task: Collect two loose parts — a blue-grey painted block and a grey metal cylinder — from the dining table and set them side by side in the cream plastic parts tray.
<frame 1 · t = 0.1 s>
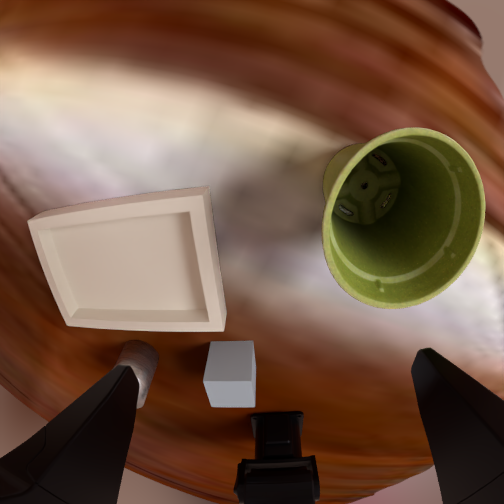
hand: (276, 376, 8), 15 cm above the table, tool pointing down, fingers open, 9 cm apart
painted block: (234, 355, 27), on the table
plant pot: (360, 184, 20), on the table
parts tray: (126, 261, 23), on the table
metal cylinder: (141, 353, 28), on the table
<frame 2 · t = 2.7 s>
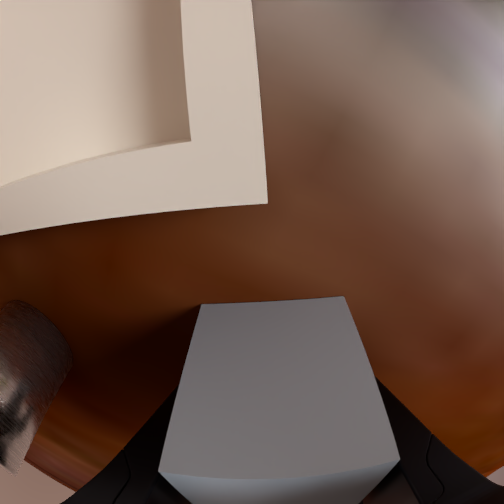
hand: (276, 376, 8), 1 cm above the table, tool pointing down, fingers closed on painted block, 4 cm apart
painted block: (275, 352, 9), on the table, touching gripper
metal cylinder: (36, 338, 9), on the table
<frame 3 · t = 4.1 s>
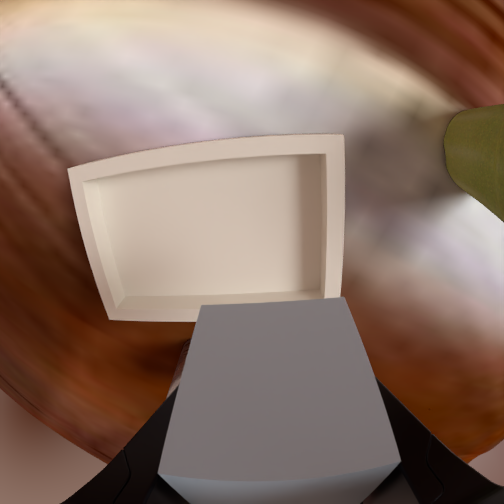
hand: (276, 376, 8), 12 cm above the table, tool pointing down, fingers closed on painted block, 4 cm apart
painted block: (275, 352, 9), point 11 cm above the table, touching gripper
plant pot: (470, 151, 15), on the table
parts tray: (208, 227, 18), on the table
metal cylinder: (205, 354, 23), on the table
when the fingers open (3 cm above the table, at t = 5.9 s): painted block drops 2 cm, resting on parts tray.
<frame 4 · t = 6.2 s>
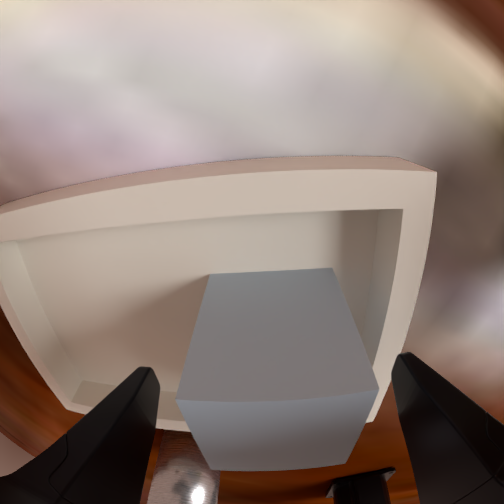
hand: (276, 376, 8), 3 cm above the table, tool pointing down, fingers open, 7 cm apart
painted block: (273, 319, 10), point 1 cm above the table, touching parts tray
parts tray: (183, 309, 11), on the table
metal cylinder: (193, 436, 16), on the table
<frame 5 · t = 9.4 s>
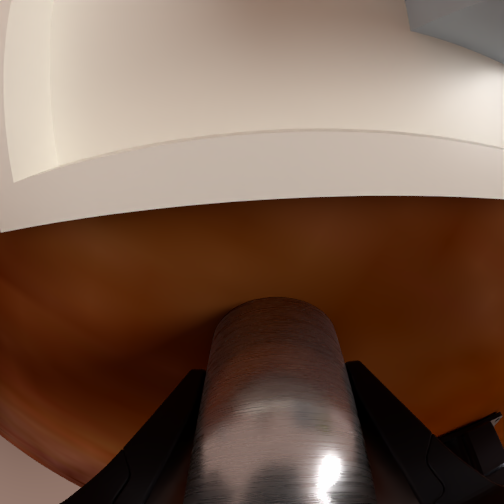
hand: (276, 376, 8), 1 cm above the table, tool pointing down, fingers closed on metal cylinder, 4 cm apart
metal cylinder: (274, 347, 9), on the table, touching gripper
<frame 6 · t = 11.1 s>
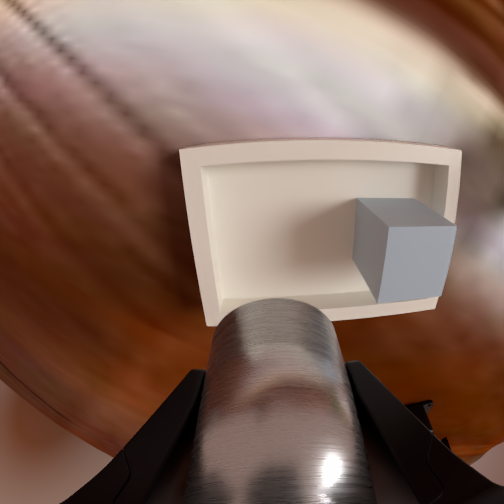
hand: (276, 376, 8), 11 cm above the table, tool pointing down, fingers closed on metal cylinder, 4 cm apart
painted block: (383, 228, 17), point 1 cm above the table, touching parts tray
parts tray: (328, 226, 18), on the table
metal cylinder: (274, 348, 9), point 10 cm above the table, touching gripper
when the fingers open (3 cm above the table, at t = 12.8 s): metal cylinder drops 1 cm, resting on parts tray.
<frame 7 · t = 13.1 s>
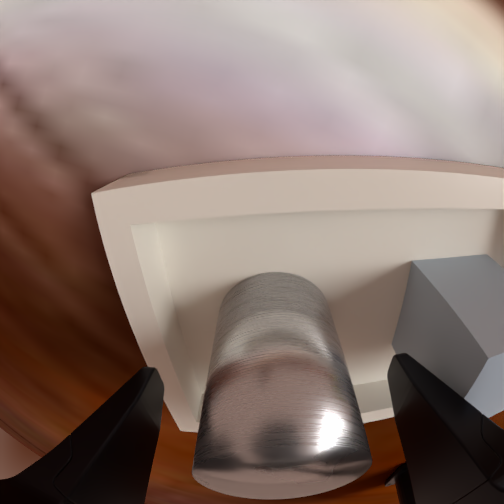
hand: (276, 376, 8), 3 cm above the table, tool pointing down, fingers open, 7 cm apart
painted block: (441, 300, 10), point 1 cm above the table, touching gripper, parts tray
parts tray: (360, 299, 11), on the table
metal cylinder: (274, 320, 10), point 1 cm above the table, touching parts tray
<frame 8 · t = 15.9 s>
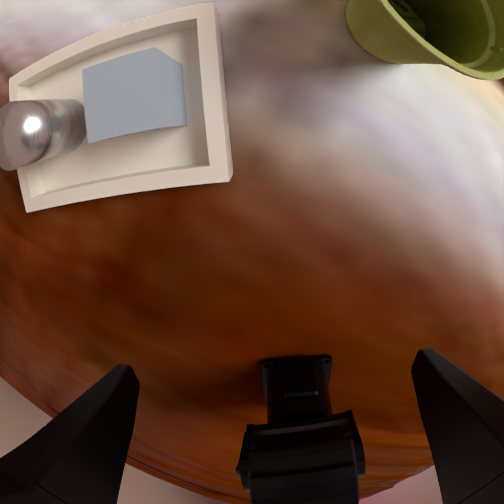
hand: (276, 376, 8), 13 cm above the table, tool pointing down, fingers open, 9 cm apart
painted block: (154, 100, 15), point 1 cm above the table, touching parts tray
plant pot: (384, 26, 13), on the table
parts tray: (110, 112, 16), on the table
metal cylinder: (66, 125, 16), point 1 cm above the table, touching parts tray
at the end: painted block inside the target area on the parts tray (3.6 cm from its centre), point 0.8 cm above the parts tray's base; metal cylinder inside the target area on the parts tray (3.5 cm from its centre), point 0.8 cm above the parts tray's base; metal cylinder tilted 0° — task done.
